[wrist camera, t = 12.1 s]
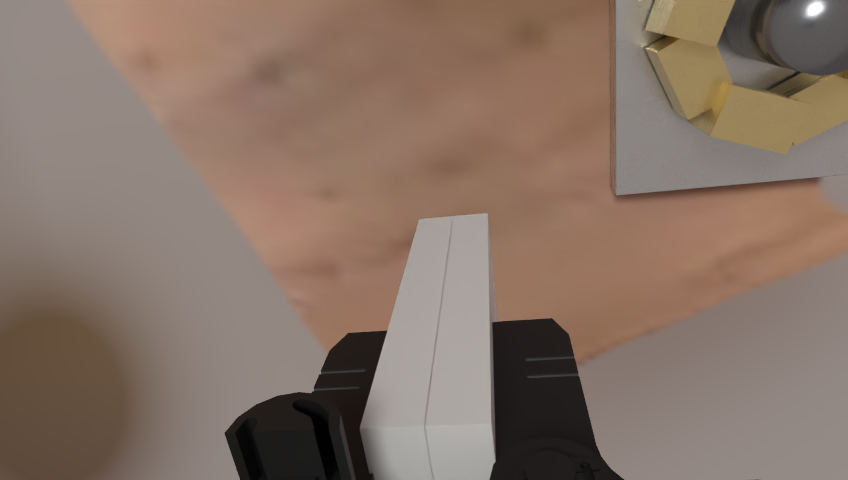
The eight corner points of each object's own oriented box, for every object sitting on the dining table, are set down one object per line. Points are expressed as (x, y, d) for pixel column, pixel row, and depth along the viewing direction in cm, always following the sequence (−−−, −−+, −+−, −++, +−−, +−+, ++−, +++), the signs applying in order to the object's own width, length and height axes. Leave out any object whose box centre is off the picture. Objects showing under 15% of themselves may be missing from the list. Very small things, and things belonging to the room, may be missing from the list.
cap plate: (608, -153, 34) (649, -200, 25) (968, -216, 31) (1144, -291, 23) (610, 186, 42) (641, 234, 33) (896, 160, 39) (1006, 204, 31)
